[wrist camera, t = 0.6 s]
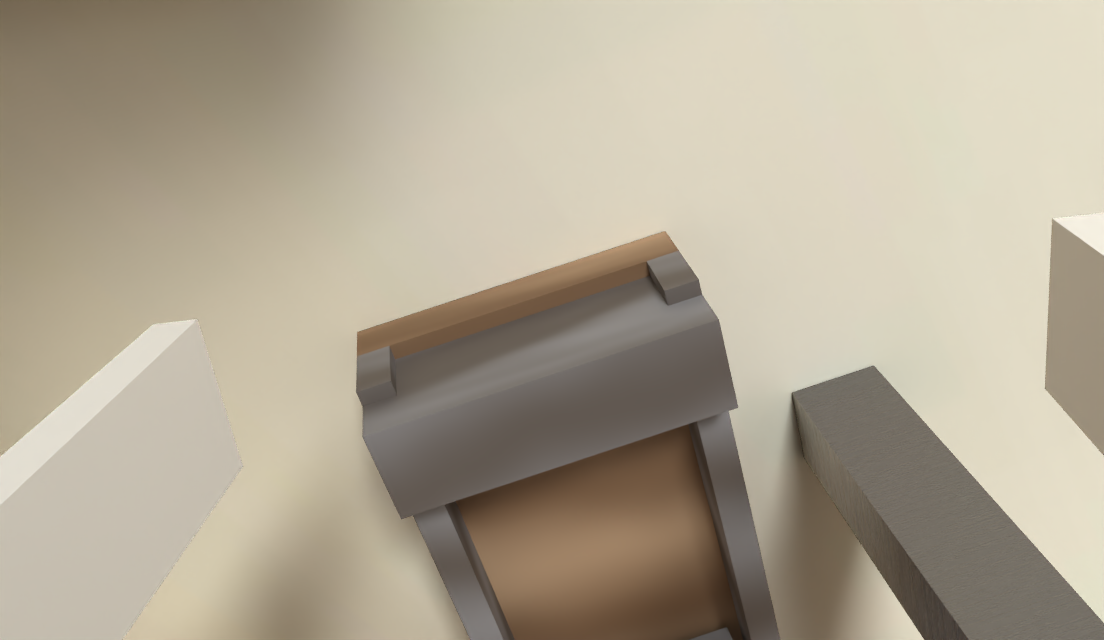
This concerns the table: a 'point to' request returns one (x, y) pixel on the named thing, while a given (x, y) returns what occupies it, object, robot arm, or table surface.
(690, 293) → the track
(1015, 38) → the table surface
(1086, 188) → the table surface
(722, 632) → the handle
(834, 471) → the hook
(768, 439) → the table surface
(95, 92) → the table surface
